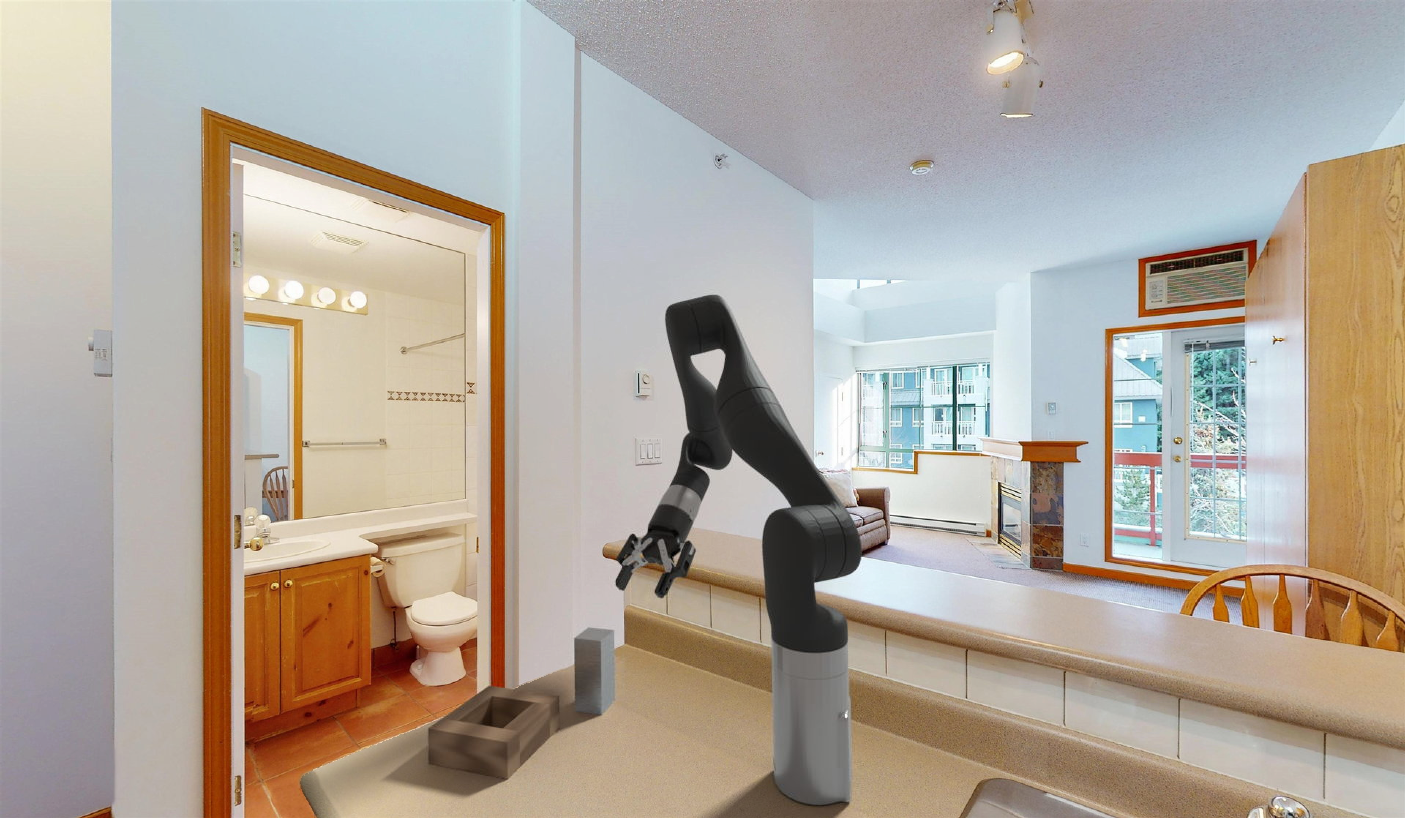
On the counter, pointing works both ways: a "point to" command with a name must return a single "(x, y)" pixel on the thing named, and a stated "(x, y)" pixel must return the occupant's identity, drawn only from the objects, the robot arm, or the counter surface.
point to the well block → (494, 731)
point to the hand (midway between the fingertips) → (638, 591)
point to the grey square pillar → (594, 670)
